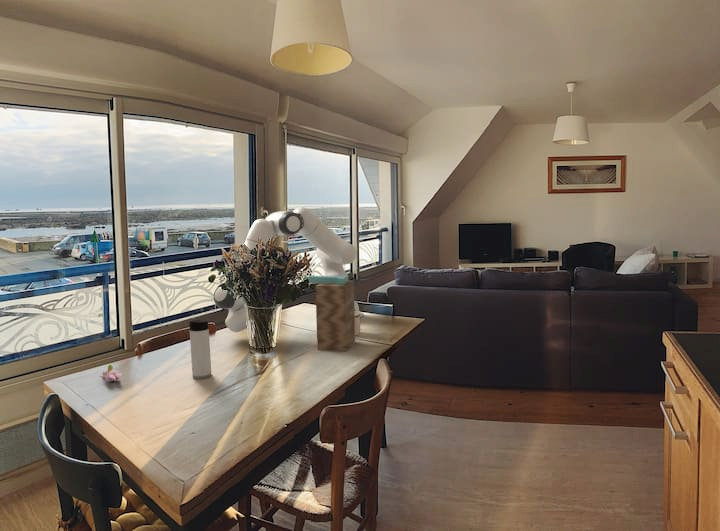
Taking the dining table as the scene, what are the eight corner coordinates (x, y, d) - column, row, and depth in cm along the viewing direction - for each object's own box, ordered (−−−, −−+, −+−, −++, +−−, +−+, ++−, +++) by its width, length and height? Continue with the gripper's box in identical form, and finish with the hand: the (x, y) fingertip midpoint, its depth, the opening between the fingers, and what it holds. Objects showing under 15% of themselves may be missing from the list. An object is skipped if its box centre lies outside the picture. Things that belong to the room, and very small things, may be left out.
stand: (317, 349, 205) (315, 285, 202) (327, 340, 219) (325, 279, 215) (346, 351, 202) (345, 286, 199) (354, 341, 216) (353, 280, 212)
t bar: (298, 283, 206) (298, 277, 206) (305, 280, 214) (305, 274, 214) (343, 284, 202) (343, 278, 202) (348, 281, 210) (348, 275, 209)
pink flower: (98, 381, 178) (107, 386, 166) (95, 364, 178) (105, 368, 166) (117, 377, 182) (128, 382, 170) (115, 360, 182) (126, 364, 170)
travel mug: (188, 379, 174) (184, 321, 172) (197, 372, 181) (194, 317, 178) (206, 380, 173) (202, 322, 170) (214, 373, 180) (211, 317, 177)
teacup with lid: (363, 331, 231) (363, 306, 229) (355, 337, 223) (355, 310, 221) (339, 329, 236) (339, 304, 234) (330, 334, 227) (330, 308, 226)
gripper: (244, 308, 206) (271, 292, 203) (265, 298, 226) (290, 283, 222) (252, 321, 206) (279, 305, 203) (272, 310, 226) (297, 295, 222)
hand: (285, 293), depth 213 cm, fingers open, 8 cm apart
